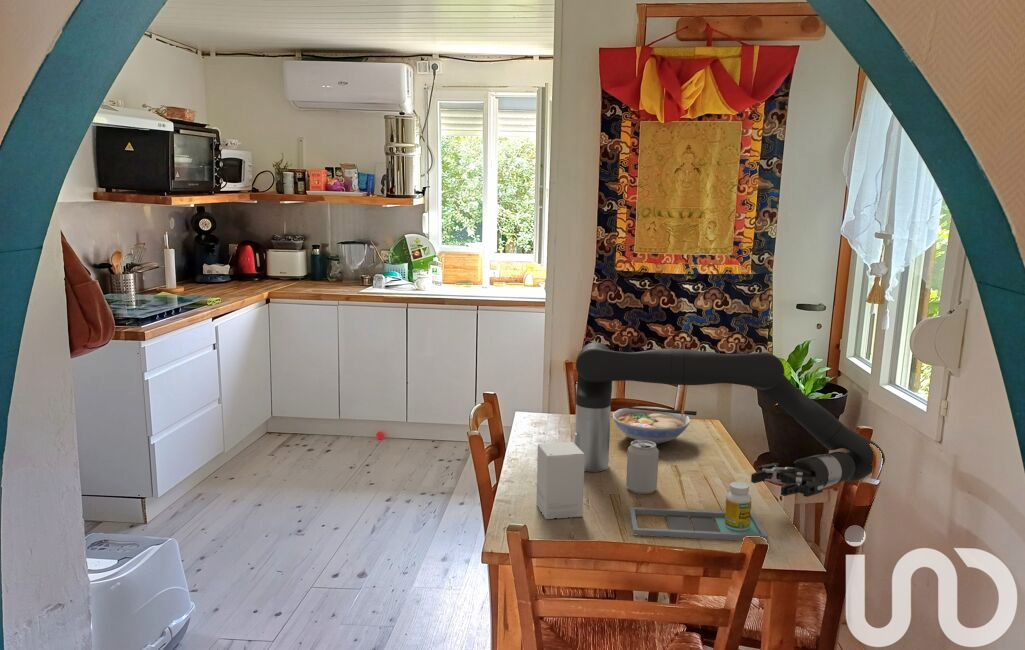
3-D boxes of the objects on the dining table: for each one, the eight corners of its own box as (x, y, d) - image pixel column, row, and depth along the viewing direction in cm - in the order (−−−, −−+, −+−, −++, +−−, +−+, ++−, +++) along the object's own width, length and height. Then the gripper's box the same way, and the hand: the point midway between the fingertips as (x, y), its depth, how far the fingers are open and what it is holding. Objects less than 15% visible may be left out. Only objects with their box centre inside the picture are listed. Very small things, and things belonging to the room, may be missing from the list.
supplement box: (583, 517, 169) (586, 453, 167) (545, 520, 168) (546, 456, 165) (572, 501, 178) (574, 440, 176) (535, 504, 176) (536, 442, 174)
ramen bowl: (600, 447, 217) (601, 420, 216) (615, 425, 239) (616, 400, 237) (689, 458, 209) (690, 429, 208) (696, 434, 231) (697, 408, 229)
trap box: (633, 535, 161) (633, 529, 161) (629, 512, 173) (629, 507, 172) (767, 541, 159) (767, 536, 158) (753, 517, 170) (754, 512, 170)
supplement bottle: (735, 519, 169) (737, 478, 167) (755, 528, 164) (757, 486, 163) (719, 525, 166) (721, 483, 164) (738, 534, 161) (741, 491, 160)
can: (638, 497, 181) (640, 449, 179) (620, 487, 188) (621, 440, 186) (663, 492, 184) (665, 445, 182) (644, 482, 191) (646, 436, 189)
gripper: (792, 448, 181) (743, 458, 173) (844, 466, 169) (794, 479, 161) (790, 477, 182) (741, 490, 174) (841, 498, 170) (791, 512, 162)
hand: (767, 484), depth 167 cm, fingers open, 8 cm apart
